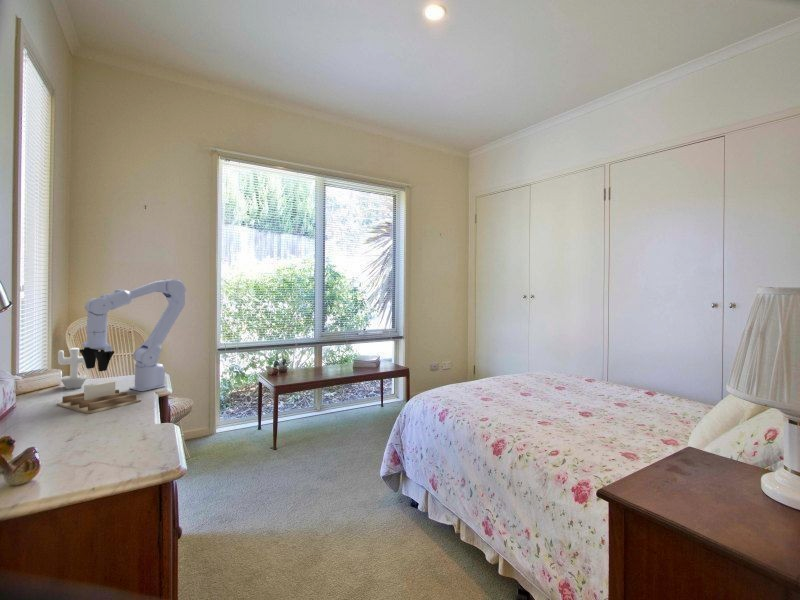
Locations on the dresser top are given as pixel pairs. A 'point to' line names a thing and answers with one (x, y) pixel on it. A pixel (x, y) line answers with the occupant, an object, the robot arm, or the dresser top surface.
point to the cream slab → (99, 390)
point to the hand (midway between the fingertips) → (96, 369)
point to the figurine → (72, 368)
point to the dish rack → (97, 402)
